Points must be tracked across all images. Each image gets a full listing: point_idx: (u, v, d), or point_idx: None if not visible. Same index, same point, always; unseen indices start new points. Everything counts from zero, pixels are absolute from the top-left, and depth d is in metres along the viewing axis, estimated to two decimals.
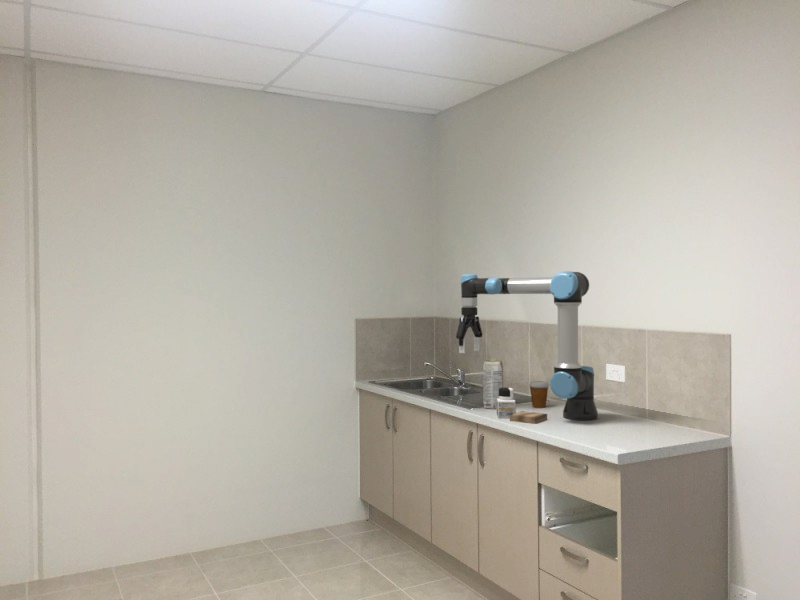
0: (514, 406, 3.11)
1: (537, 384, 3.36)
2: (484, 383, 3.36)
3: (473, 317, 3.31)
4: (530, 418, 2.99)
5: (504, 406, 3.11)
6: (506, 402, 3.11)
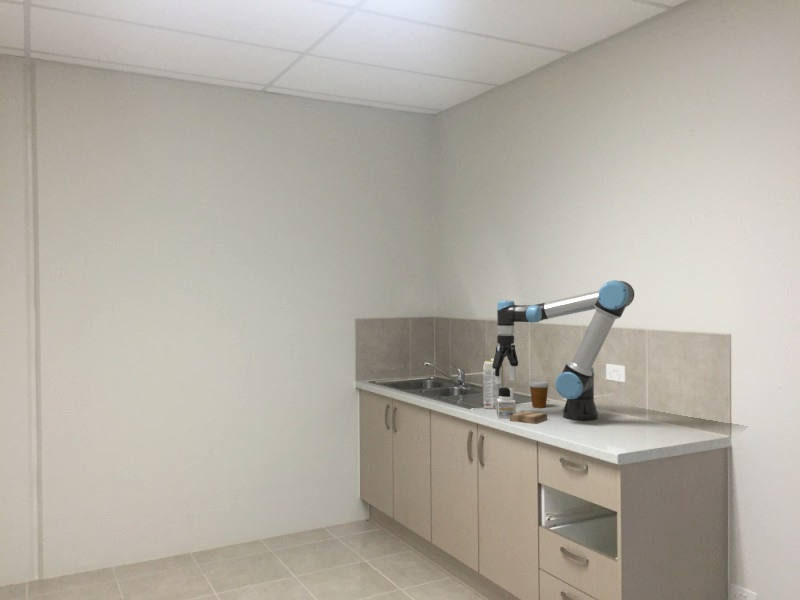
0: (514, 406, 3.11)
1: (537, 384, 3.36)
2: (484, 383, 3.36)
3: (509, 345, 3.15)
4: (530, 418, 2.99)
5: (504, 406, 3.11)
6: (506, 402, 3.11)
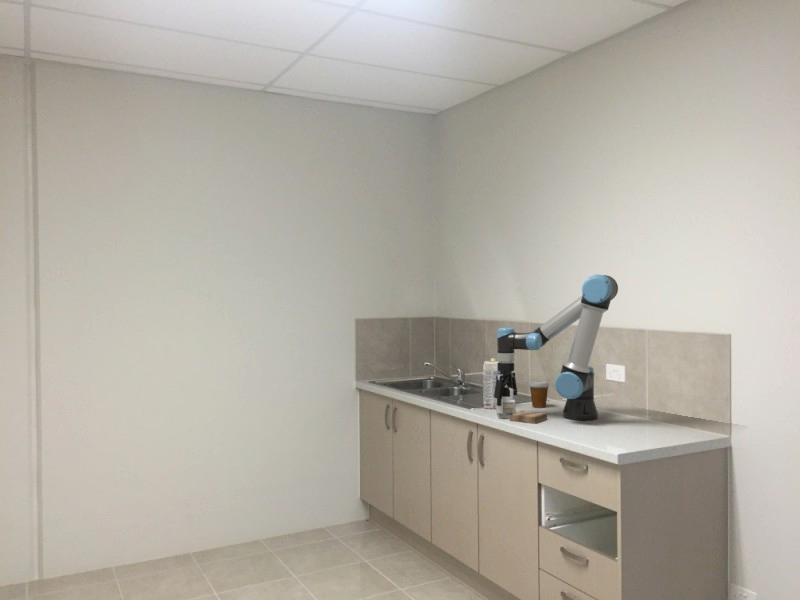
0: (514, 406, 3.11)
1: (537, 384, 3.36)
2: (484, 383, 3.36)
3: (510, 373, 3.16)
4: (530, 418, 2.99)
5: (504, 406, 3.11)
6: (506, 402, 3.11)
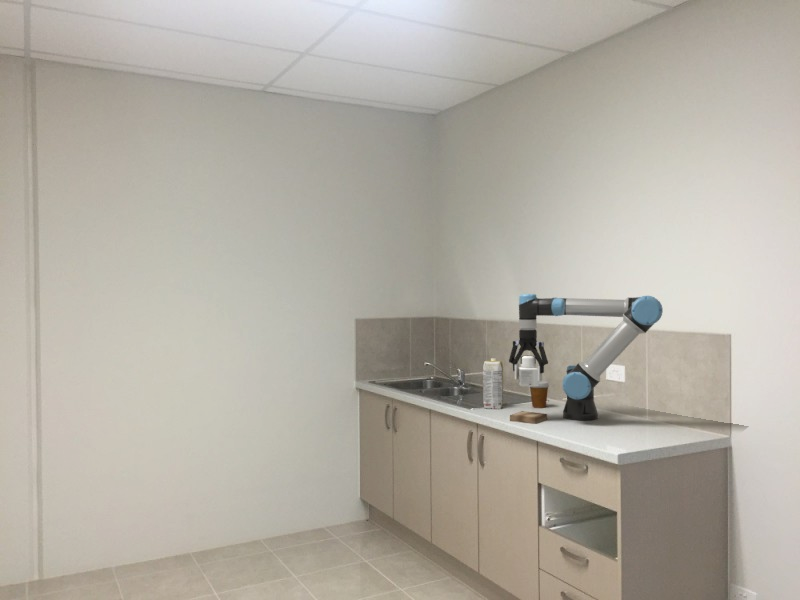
0: (520, 374, 3.03)
1: None
2: (484, 383, 3.36)
3: (530, 341, 3.04)
4: (530, 418, 2.99)
5: None
6: (519, 369, 3.06)
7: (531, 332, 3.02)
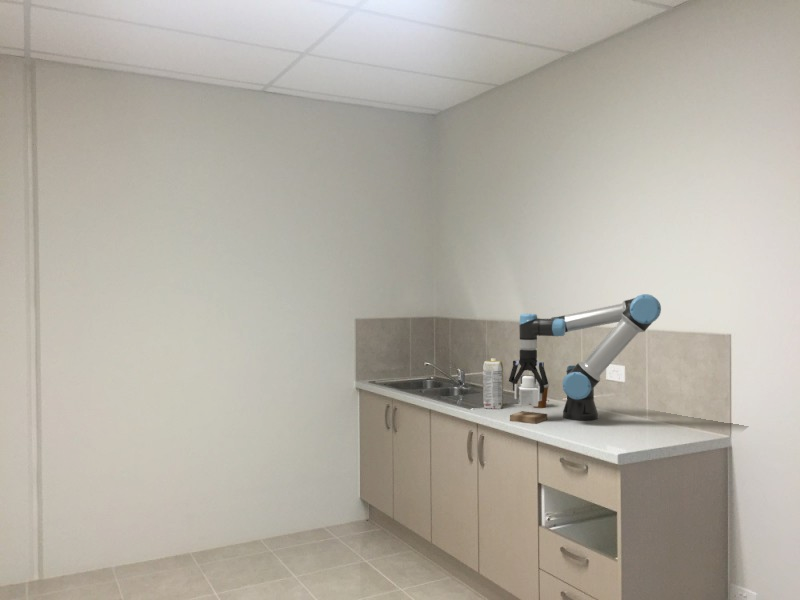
0: (520, 394, 3.03)
1: (537, 384, 3.36)
2: (484, 383, 3.36)
3: (531, 361, 3.04)
4: (530, 418, 2.99)
5: None
6: (519, 389, 3.06)
7: (531, 352, 3.02)
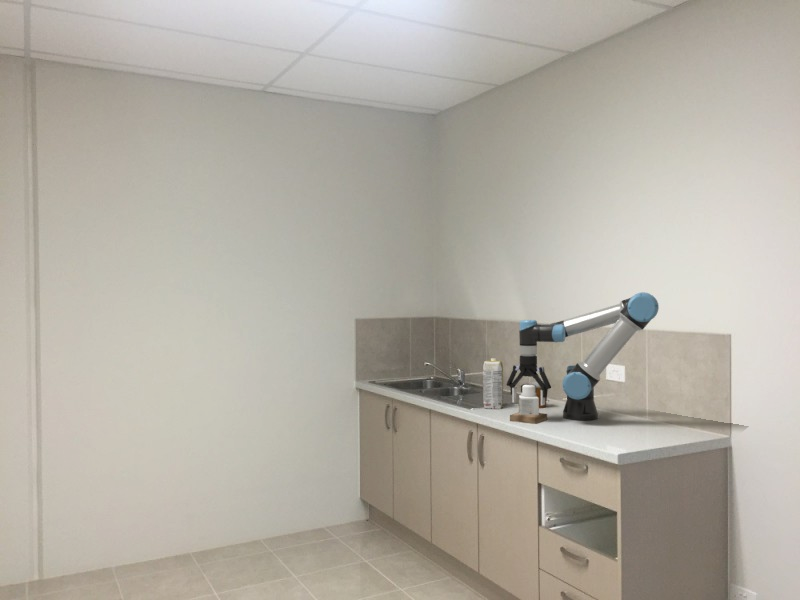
0: (520, 403, 3.03)
1: (537, 384, 3.36)
2: (484, 383, 3.36)
3: (531, 367, 3.04)
4: (530, 418, 2.99)
5: (519, 401, 3.07)
6: (519, 397, 3.06)
7: (532, 359, 3.02)
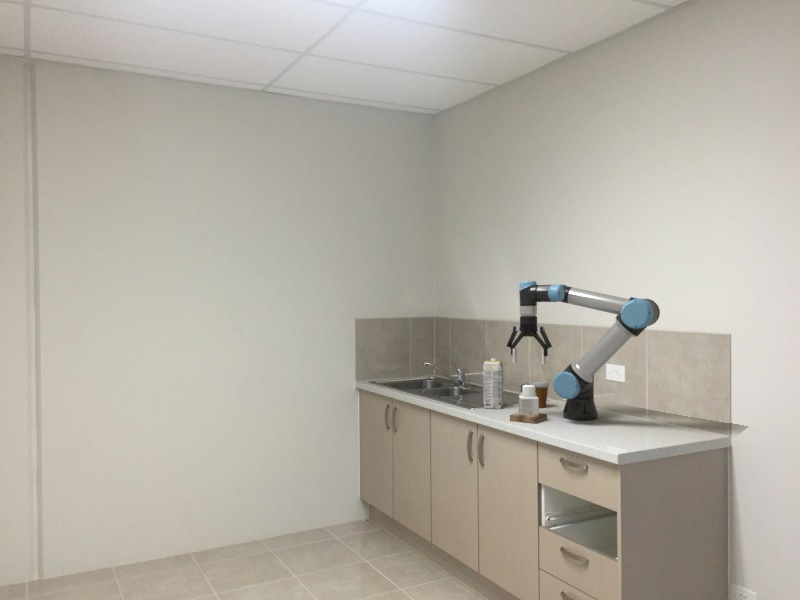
0: (520, 403, 3.03)
1: (537, 384, 3.36)
2: (484, 383, 3.36)
3: (531, 327, 3.08)
4: (530, 418, 2.99)
5: (519, 401, 3.07)
6: (519, 397, 3.06)
7: (532, 318, 3.07)
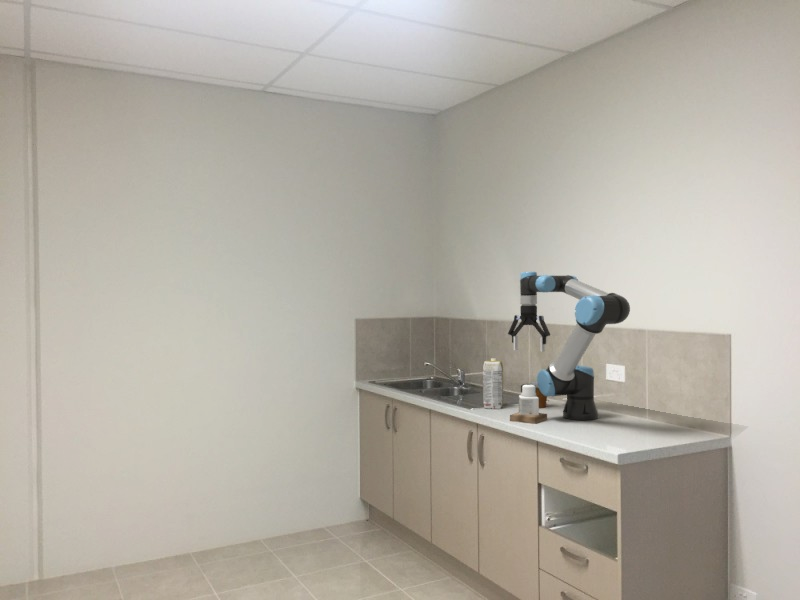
0: (520, 403, 3.03)
1: (537, 384, 3.36)
2: (484, 383, 3.36)
3: (531, 316, 3.22)
4: (530, 418, 2.99)
5: (519, 401, 3.07)
6: (519, 397, 3.06)
7: (532, 308, 3.20)
